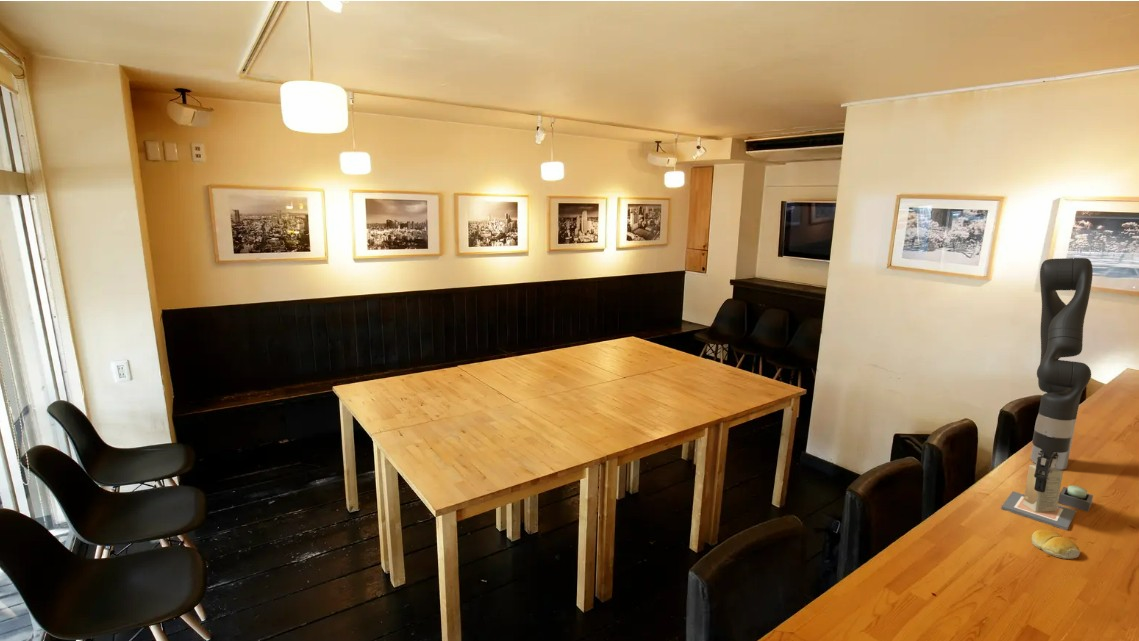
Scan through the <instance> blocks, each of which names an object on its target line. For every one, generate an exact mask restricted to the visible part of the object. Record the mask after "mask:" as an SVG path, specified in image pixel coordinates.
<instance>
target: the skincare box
mask: <svg viewBox="0 0 1139 641" xmlns="http://www.w3.org/2000/svg"><path fill="white" fill-rule="evenodd" d="M1035 471H1036V464H1029V465H1028V471H1027V476H1026V483H1025V490H1024V501H1023V504H1024V505H1025V506H1027V507H1028V508H1030V509H1031V510H1033V511H1035V512H1050V511H1057V505H1059V503H1058V499H1059V494H1060V492H1061V486H1062V480H1063V474H1064V471H1063V470H1060V469H1058V468H1056V467H1054V468H1053V471H1052V473H1049V476H1048V480H1047V484H1046V489H1045V492H1044V493H1042V492H1039V491H1036V490H1035V489H1034V487H1035V481H1036V478H1035V477H1034V474H1035ZM1039 474H1042V475H1045V472H1044V471H1040V472H1039Z"/></svg>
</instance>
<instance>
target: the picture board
mask: <svg viewBox="0 0 1139 641" xmlns="http://www.w3.org/2000/svg"><path fill="white" fill-rule="evenodd" d="M1024 495H1025V493H1024V494H1023V493H1020V492H1017V491H1013V490H1012V491H1011V493H1010V494H1009V496H1008V497H1007V498H1006V499H1005V501H1004V502H1003V504H1002V505H1001V506H1000V507H1001V508H1000V509H1001V510H1003V511H1006V512H1007V511H1008V512H1010V513H1013V514H1016V515H1018V516H1022V517H1024V518H1028V519H1031V520H1033V521H1037V522H1040V523H1044V524H1047V525H1049V526H1052V527H1056V528H1059V529H1061V530H1064V531H1068V529H1069V527H1070V526H1071V523H1072V521H1073V519H1074V516H1075V515H1076V513H1077V510H1075V509H1074V508H1073V509H1072V508H1071V507H1070V508H1069V507H1068V506H1064V505H1061V504H1060V505H1059V504H1058V505H1057V511H1050V512H1035V511H1033V510H1031V509H1030V508H1028V507H1027V506H1025V505H1024V504H1023V501H1024Z"/></svg>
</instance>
